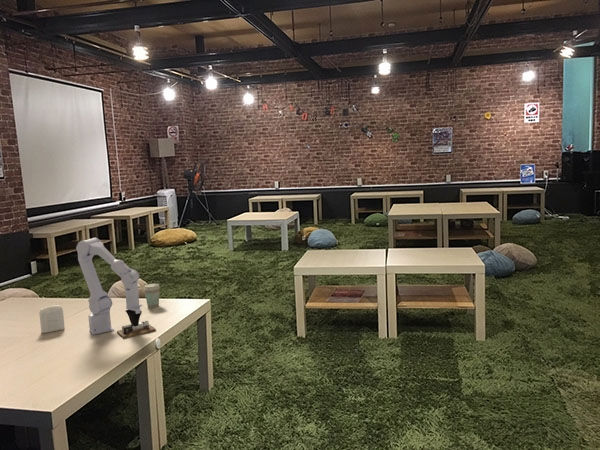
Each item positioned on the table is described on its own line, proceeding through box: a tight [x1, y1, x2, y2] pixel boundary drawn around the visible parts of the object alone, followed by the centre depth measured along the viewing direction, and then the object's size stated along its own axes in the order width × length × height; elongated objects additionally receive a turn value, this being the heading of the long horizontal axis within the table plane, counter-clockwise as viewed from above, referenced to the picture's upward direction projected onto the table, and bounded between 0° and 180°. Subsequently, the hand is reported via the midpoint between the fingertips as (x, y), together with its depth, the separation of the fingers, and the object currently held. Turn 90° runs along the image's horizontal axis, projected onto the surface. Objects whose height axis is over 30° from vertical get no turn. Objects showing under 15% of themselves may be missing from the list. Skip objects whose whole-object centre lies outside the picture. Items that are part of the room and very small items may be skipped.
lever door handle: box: [121, 320, 150, 334], centre depth 237 cm, size 12×3×3 cm, turn 125°
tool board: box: [116, 324, 157, 339], centre depth 237 cm, size 15×10×3 cm, turn 125°
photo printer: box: [38, 304, 66, 334], centre depth 244 cm, size 10×4×12 cm, turn 123°
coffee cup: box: [143, 283, 161, 309], centre depth 277 cm, size 8×8×12 cm
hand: (134, 325), depth 236 cm, fingers closed on lever door handle, 3 cm apart
